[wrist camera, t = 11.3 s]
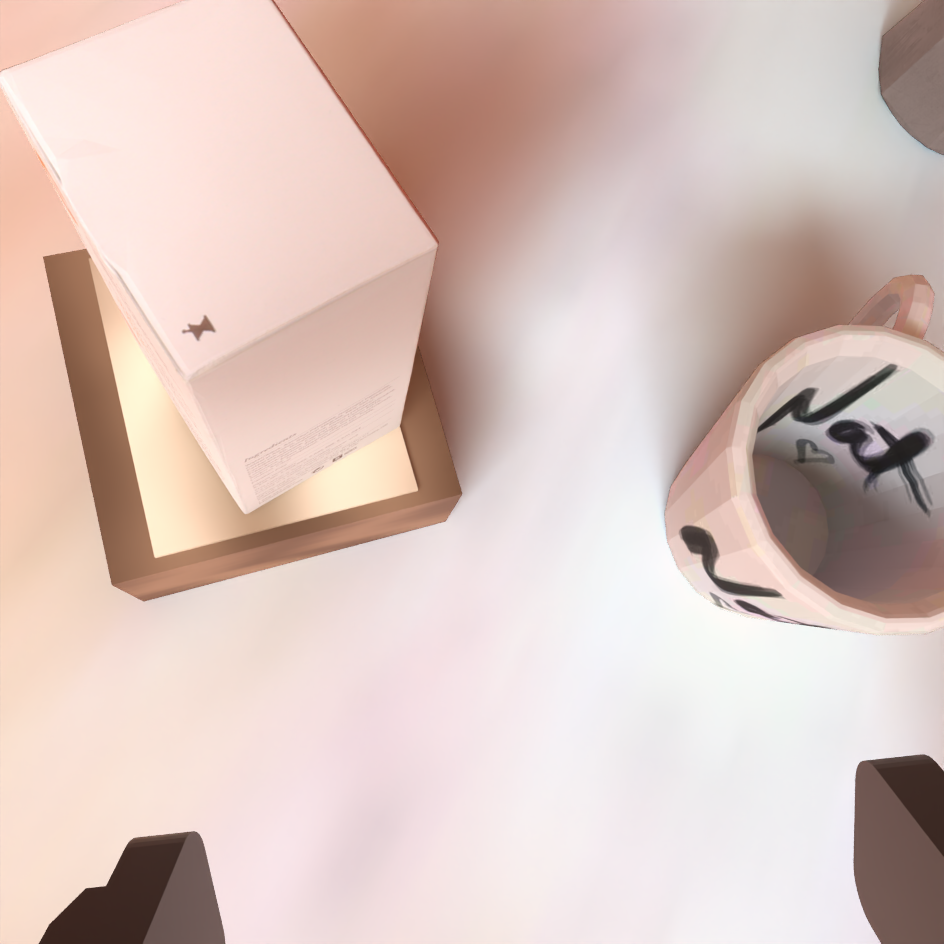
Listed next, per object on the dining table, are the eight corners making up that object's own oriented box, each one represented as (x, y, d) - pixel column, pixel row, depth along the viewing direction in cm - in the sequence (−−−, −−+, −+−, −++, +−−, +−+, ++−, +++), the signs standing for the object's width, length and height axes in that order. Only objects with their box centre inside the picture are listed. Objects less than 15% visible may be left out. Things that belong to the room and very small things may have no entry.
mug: (592, 584, 36) (683, 542, 27) (715, 292, 41) (833, 167, 31) (817, 695, 37) (987, 693, 27) (916, 394, 41) (1094, 301, 31)
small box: (404, 427, 31) (449, 247, 19) (244, 519, 30) (178, 390, 17) (285, 245, 32) (254, -39, 20) (125, 325, 31) (-19, 70, 18)
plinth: (368, 259, 38) (374, 193, 33) (445, 521, 36) (463, 492, 31) (82, 315, 36) (41, 253, 31) (143, 601, 34) (110, 584, 29)
